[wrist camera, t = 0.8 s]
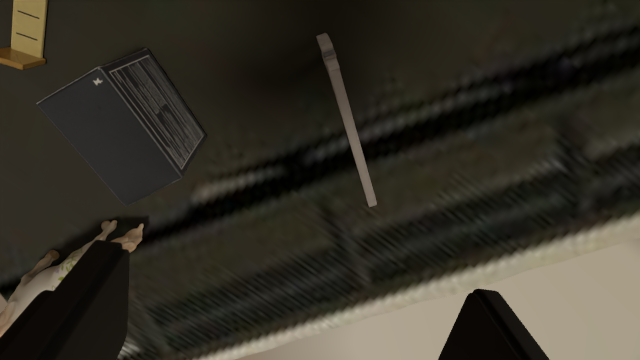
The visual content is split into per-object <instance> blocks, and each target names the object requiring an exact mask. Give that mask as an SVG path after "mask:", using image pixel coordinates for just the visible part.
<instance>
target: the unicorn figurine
mask: <svg viewBox="0 0 640 360" xmlns="http://www.w3.org/2000/svg"><path fill="white" fill-rule="evenodd" d="M116 225H117V221H116V220H113V221H112V222H111V223H110V221H104V222H102V224H101V229H102V230H103V232H102V233H101V234H100V235H98V236H97V237H96V238H95V239H94V240H93V241H91V242H89V243H87V244H86V245H84V246H83V247H82V248H80V249H79V250H76V251H74V252H72V253H71V254H70V255H69V256H68V258H67V259H66V260H64V261H63V262H62V263H61V264H60V265H59V266H53V267H50V268H47V269H45V270H43V269H44V268H46V267H48V266H50V265H51V263H52V261H54V260H57V259H58V258H59V253H58V252H57V251H55V250H50V251H49V252H48V253H47V254H46V256H45V258H43V259H42V260H41V261H39V262H38V263H37V265H36V266H35V268H34V269H33V270H32V271H30V272H29V273H27V274H26V275H24V276H23V277H22V279H21V283H20V284H19V285H18V287H17V288H16V291H15V292H14V293H13V294H12V295H11V297H10V298H9V301H8V304H7V306H6V308H5V310H4V311H3V312H2V313H1V314H0V337H1V336H2V335H3V334H4V333H5V332H6V330H7V329H8V328H9V327H10V326H11V325H12V324H13V322H14V321H15V320H16V319H17V318H18V317H19V315H20V314H21V313H22V312H23V311H24V310H25V309H26V307H27V306H28V305H29V304H30V303H31V302H32V300H33V299H34V298H35V297H36V296H37V295H38V294H39V293H40V292H42V291H44V290H51V291H54V289H55V288H56V287H57V286H58V285H59V283H60V282H61V281H62V280H63V279H64V277H65V276H66V275H67V274H68V272H69V271H70V270H71V269H72V268H73V266H74V265H75V264H76V263H77V261H78V260H79V259H80V258H81V257H82V255H83V254H84V253H85V252H86V250H87V249H88V248H89V247H90V246H91V244H92V243H93V242H94V241H95V240H103V241H105V240H106V237H107V235H108V234H109V233H111V232H112V231H114V230H115V228H116ZM143 227H144V225H143V224H142V223H141V224H140V225H139V227H138V228H137V229H132V230H130V231H129V232H127V233H126V234H125V236H123V237H121V238H116V239H115V240H112V241H111V242H119V243H121V244H122V247H123V249H127V250H129V253H130V252H131V251H133V250H134V249H135V248H136V245H137V244H138V243H139V242H140V241H141V240H142V229H143ZM41 270H43V271H41ZM39 271H41V272H40V273H39V274H37V273H38V272H39ZM36 274H37V275H36Z"/></svg>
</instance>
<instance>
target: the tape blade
mask: <svg viewBox="0 0 640 360" xmlns="http://www.w3.org/2000/svg"><path fill="white" fill-rule="evenodd" d="M47 3H48V0H14V4H13V21H12V38H11V47H6V48H1V49H0V63H3V64H6V65H9V66H12V67H15V68H18V69H21V70H24V69H28V68H31V67H35V66H39V65H43V64H45V63H46V59H44V58H43V48H44V37H45V26H46V15H47Z"/></svg>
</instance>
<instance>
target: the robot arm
mask: <svg viewBox="0 0 640 360" xmlns="http://www.w3.org/2000/svg"><path fill="white" fill-rule="evenodd" d="M128 287H129V250H127V249H123V247H122V244H121V243H119V242H111V241H103V240H95V241H94V242H93V243H92V244H91V246H90V247H89V248H88V249H87V250H86V252H85V253H84V254H83V255H82V257H81V258H80V259H79V260H78V261H77V263H76V264H75V265H74V266H73V268H72V269H71V270H70V271H69V272H68V274H67V275H66V276H65V277H64V279H63V280H62V281H61V282H60V283H59V285H58V286H57V287H56V288H55V289H54V291H51V290H44V291H42V292H40V293H39V294H38V295H37V296H36V297H35V298H34V299H33V300H32V302H31V303H30V304H29V305H28V306H27V307H26V309H25V310H24V311H23V312H22V313H21V314H20V315H19V317H18V318H17V319H16V320H15V321H14V322H13V324H12V325H11V326H10V327H9V328H8V329H7V330H6V332H5V333H4V334H3V335H2V336H1V337H0V360H116V359H117V357H118V355H119V353H120V351H121V348H122V346H123V344H124V341H125V338H126V334H127V321H128ZM438 360H549V358H548V357H547V356H546V354H545V353H544V352H543V350H542V349H541V348H540V346H539V345H538V344H537V342H536V341H535V340H534V338H533V337H532V336H531V334H530V333H529V332H528V330H527V329H526V328H525V326H524V325H523V324H522V322H521V321H520V320H519V319H518V317H517V316H516V315H515V313H514V312H513V311H512V309H511V308H510V307H509V305H508V304H507V303H506V301H505V300H504V299H503V297H502V296H501V295H500V294H499V293H498V292H497V291H492V290H484V289H476V290H474V291H473V293H470V294H468V296H467V298H466V300H465V302H464V304H463V306H462V308H461V311H460V313H459V315H458V317H457V319H456V322H455V324H454V326H453V328H452V330H451V332H450V335H449V337H448V339H447V341H446V344H445V346H444V348H443V350H442V352H441V354H440V356H439V359H438Z"/></svg>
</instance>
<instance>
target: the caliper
mask: <svg viewBox="0 0 640 360" xmlns="http://www.w3.org/2000/svg"><path fill="white" fill-rule="evenodd" d="M316 38H317V41H318V44H319V46H320V49H321V51H322V53H321V54H322V58H323V60H324V63H325V66H326V69H327V71H328V74H329V77H330V81H331V84H332V88H333V91H334V94H335V98H336V101H337V104H338V107H339V110H340V113H341V117H342V120H343V123H344V126H345V130H346V133H347V136H348V140H349V143H350V146H351V150H352V153H353V156H354V159H355V163H356V166H357V169H358V173H359V176H360V179H361V183H362V186H363V189H364V193H365V196H366V199H367V202H368V205H369V207H371V206H374V205H377V203H376V198H375V195H374V191H373V188H372V184H371V181H370V177H369V173H368V170H367V166H366V163H365V159H364V156H363V152H362V149H361V145H360V142H359V138H358V135H357V131H356V128H355V124H354V120H353V117H352V113H351V109H350V105H349V102H348V98H347V95H346V91H345V87H344V84H343V80H342V77H341V73H340V70H339V69H340V67H339V64H338V61H337V59H336V53H335V51H334V49H333V45H332V42H331V40H330V38H329V36H328V35H327V34H326V33H324V34H321V35H318V36H316Z"/></svg>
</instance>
